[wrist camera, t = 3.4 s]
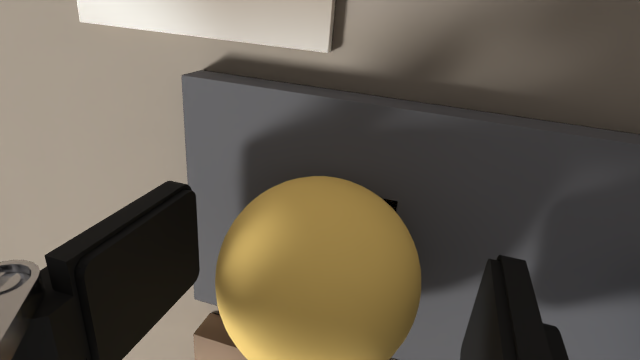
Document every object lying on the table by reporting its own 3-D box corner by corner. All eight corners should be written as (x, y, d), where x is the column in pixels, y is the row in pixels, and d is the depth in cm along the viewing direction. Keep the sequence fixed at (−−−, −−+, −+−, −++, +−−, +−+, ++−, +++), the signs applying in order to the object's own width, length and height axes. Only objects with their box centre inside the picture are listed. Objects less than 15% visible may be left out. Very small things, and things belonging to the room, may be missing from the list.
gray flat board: (200, 70, 12) (181, 75, 12) (1146, 208, 8) (1235, 234, 7) (209, 282, 16) (194, 299, 15) (872, 470, 11) (908, 511, 10)
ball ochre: (269, 135, 12) (160, 211, 8) (444, 167, 11) (435, 279, 6) (264, 274, 14) (177, 397, 10) (411, 314, 13) (387, 474, 8)
